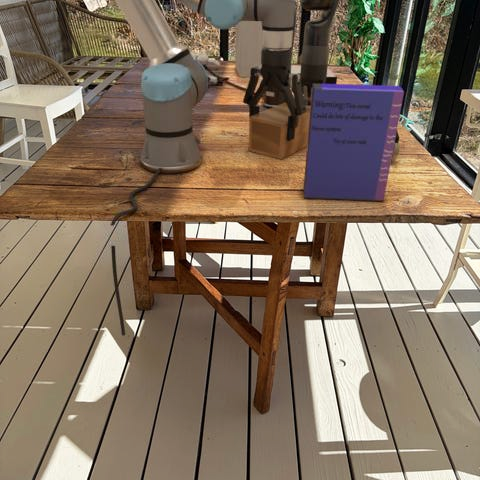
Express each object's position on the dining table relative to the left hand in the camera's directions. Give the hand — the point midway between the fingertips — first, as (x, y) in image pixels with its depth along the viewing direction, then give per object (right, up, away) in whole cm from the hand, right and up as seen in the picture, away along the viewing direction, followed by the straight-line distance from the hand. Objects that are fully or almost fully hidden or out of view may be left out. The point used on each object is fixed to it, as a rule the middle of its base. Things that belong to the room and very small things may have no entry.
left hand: (272, 135), depth 129 cm
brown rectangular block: (+4, -1, +7) cm, 8 cm away
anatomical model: (+23, +51, +94) cm, 109 cm away
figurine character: (+30, -5, +1) cm, 30 cm away
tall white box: (-3, +48, +89) cm, 101 cm away
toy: (-33, +53, +96) cm, 114 cm away
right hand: (+12, +7, +15) cm, 21 cm away
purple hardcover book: (+14, -18, -21) cm, 31 cm away
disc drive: (+21, +37, +72) cm, 83 cm away
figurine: (-28, +35, +67) cm, 80 cm away
